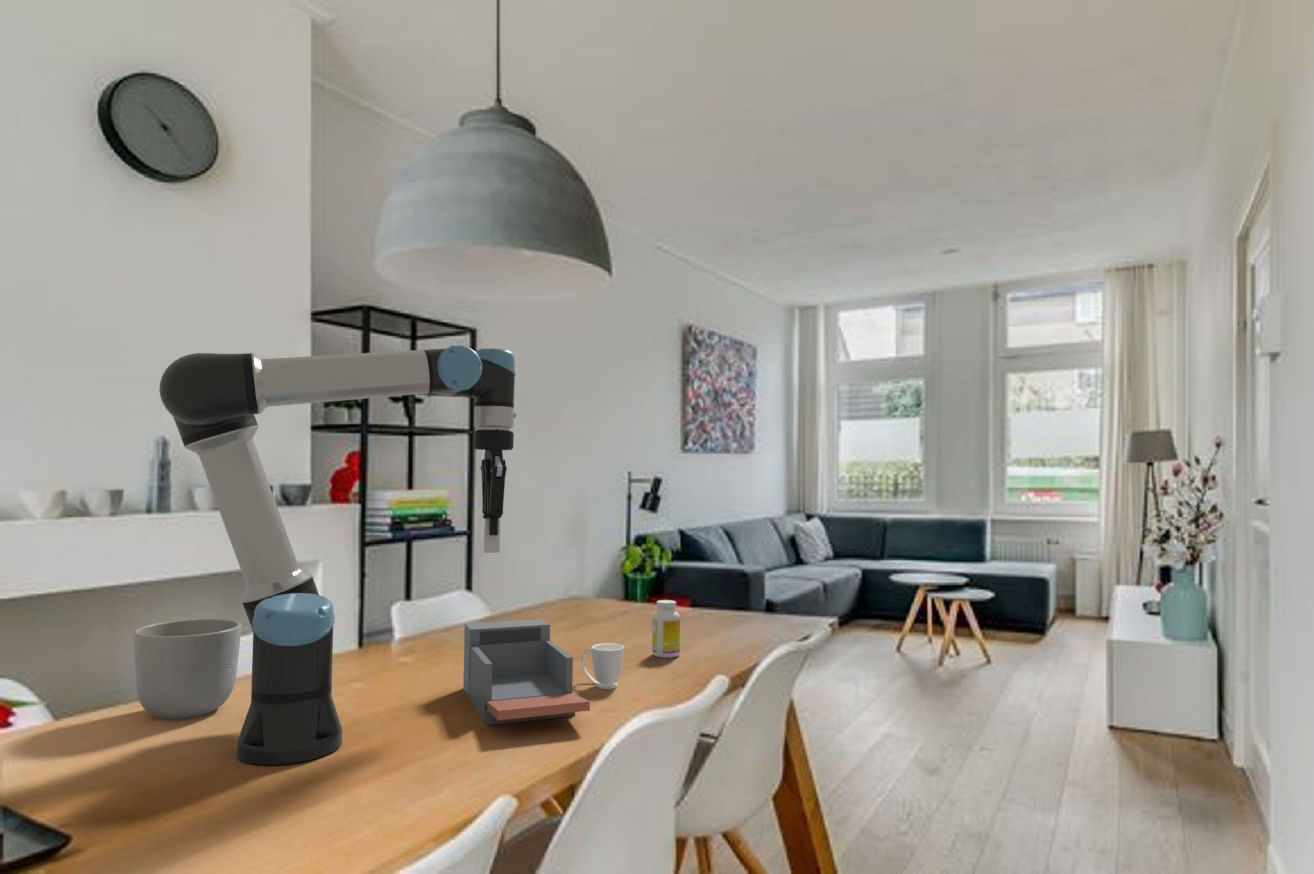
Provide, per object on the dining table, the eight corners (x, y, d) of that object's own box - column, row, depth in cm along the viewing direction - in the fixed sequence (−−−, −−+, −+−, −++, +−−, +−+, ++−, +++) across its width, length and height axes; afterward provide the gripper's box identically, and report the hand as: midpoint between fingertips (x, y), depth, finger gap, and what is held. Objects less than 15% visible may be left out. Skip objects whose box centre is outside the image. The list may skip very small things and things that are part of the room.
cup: (611, 692, 162) (611, 651, 163) (571, 685, 168) (572, 645, 168) (631, 684, 168) (631, 645, 169) (592, 677, 174) (592, 639, 174)
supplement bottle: (685, 654, 196) (685, 600, 197) (670, 659, 191) (671, 604, 191) (661, 650, 200) (662, 598, 200) (646, 655, 194) (647, 601, 195)
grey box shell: (469, 697, 158) (470, 629, 158) (463, 688, 164) (464, 623, 165) (549, 689, 164) (550, 624, 164) (540, 681, 170) (541, 618, 171)
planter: (222, 693, 158) (225, 614, 159) (252, 713, 146) (255, 628, 147) (120, 711, 147) (123, 626, 147) (143, 733, 134) (147, 641, 135)
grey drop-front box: (486, 724, 141) (487, 666, 142) (469, 697, 158) (470, 645, 158) (575, 715, 147) (576, 659, 148) (549, 689, 164) (550, 639, 164)
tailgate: (486, 709, 143) (498, 720, 133) (486, 701, 143) (498, 710, 133) (572, 701, 148) (589, 710, 139) (572, 692, 149) (589, 701, 139)
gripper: (520, 428, 152) (518, 555, 152) (506, 431, 164) (504, 548, 164) (480, 427, 150) (477, 556, 149) (468, 430, 162) (466, 549, 161)
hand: (491, 552), depth 156 cm, fingers closed
